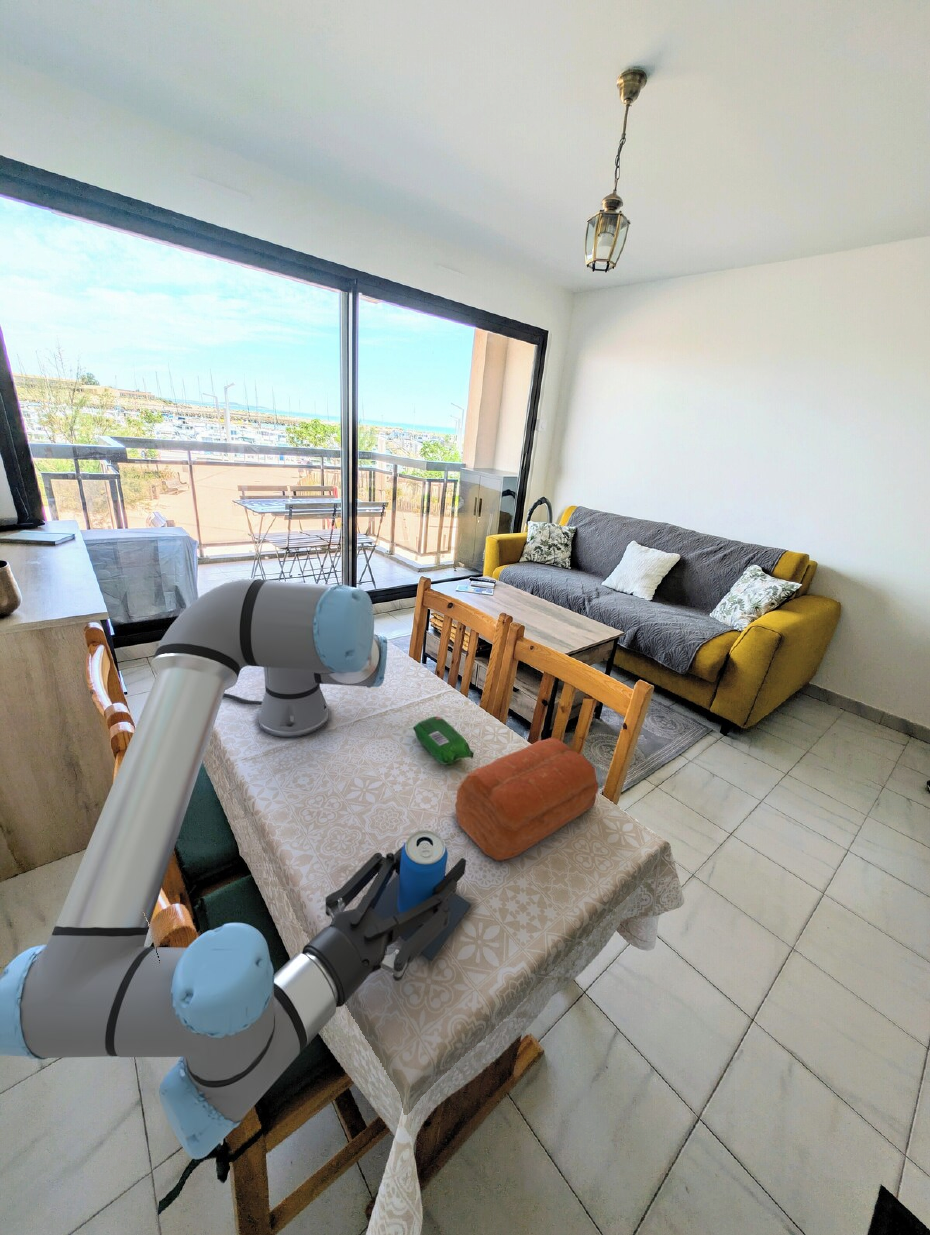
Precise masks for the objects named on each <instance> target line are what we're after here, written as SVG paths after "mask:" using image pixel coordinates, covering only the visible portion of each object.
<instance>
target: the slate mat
mask: <svg viewBox="0 0 930 1235" xmlns="http://www.w3.org/2000/svg"><path fill="white" fill-rule="evenodd" d="M399 877H400V875H398V874H397V873H396V875H395V876H394V877H393V878H392V879H391V881H389V882H388V884H387V886H386V888H385V889H384V891H383V893H382V895H381V897H380V899H379V901H378V903H377V905H376V906H375V908H374V911H375V912H376V914H377V915H378V916H380V917H382V918H383V919H385V920H386V919H387V918H389V917H391V916H394V917H396V916H398V915H399V914H400V912H399V909H398V890H399ZM471 905H472V904H471V902H469V901H468V900H466V899H464V898H463V897H462V896H460V895H459V894H457V893H455V894H454V896H453V897H452V898H451V899H450V900H449V901H448V902H447V904H446V906H449V907H450V916H449V923H448V925H447V926H446V927H445V928H444V929H443V930H442V931H441V932H440V933H439V934H438V935H437V936H436V937H435V938H434V939H433V940H432V942H431V943H430V944H429V945H428V946H427V947H426V948H425V949H424V950H423V951H422V952H421V953H420V954H421V955H423V957H425V958H426V959H428V960H429V961H430V962H433V960H434V958H435V957H436V956H437V954H438V953H439V951H440V950H441V948H442V947H443V945H444V944H446V941H447V940H448V938H449V937H450V936H451V935H452V933H453V932H454V930H455V929H456V927H457V926H458V924H459V923H460V921H461V920H462V919H463V918H464V916H465V915H466V914H467V912H468V911H469V909H470V908H471V907H472V906H471ZM424 924H425V923H424ZM424 924H421V925H419V926H418V927H416V928H414V929H412V930H411V931H409V932H407V933H406V934H404V935H402V936H400V937H399V938H401V939H402V940H404V941H405V942H406V941H407V940H408V939H409V938H410V937H411V936H412V935H413V934H414V933H415V932H417V931H418V930H419V929H420V928H421V927H422V926H423V925H424Z"/></svg>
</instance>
